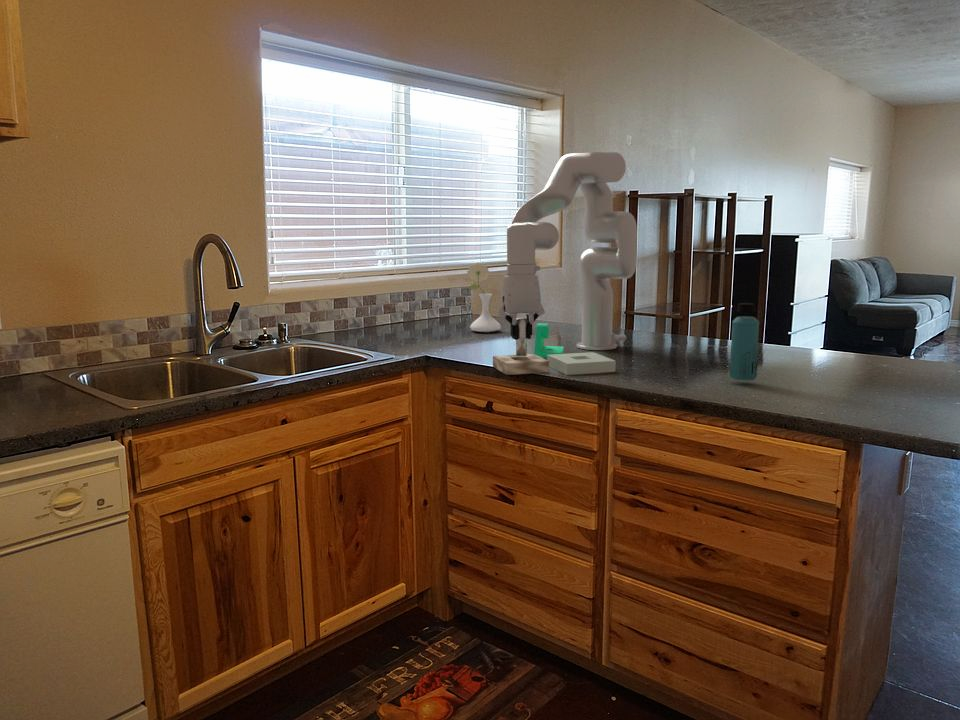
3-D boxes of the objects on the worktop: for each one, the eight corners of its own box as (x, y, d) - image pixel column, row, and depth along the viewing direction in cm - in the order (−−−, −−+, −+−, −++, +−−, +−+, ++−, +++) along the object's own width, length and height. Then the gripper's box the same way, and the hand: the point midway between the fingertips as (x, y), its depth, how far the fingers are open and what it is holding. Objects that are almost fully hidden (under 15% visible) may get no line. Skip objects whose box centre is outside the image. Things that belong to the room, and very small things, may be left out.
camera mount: (560, 362, 215) (561, 326, 213) (534, 361, 216) (534, 326, 214) (564, 354, 226) (564, 321, 225) (539, 354, 228) (539, 320, 226)
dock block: (592, 362, 213) (593, 352, 212) (615, 371, 200) (615, 360, 199) (547, 365, 209) (547, 354, 209) (566, 375, 196) (567, 363, 195)
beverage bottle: (753, 387, 180) (758, 305, 176) (725, 384, 184) (729, 303, 180) (759, 382, 186) (764, 302, 182) (731, 379, 189) (736, 301, 185)
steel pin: (524, 353, 205) (524, 317, 203) (528, 355, 202) (528, 319, 200) (514, 354, 204) (514, 318, 202) (518, 356, 202) (517, 319, 200)
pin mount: (533, 364, 211) (533, 353, 211) (549, 372, 200) (549, 361, 199) (492, 366, 208) (492, 355, 207) (506, 374, 196) (506, 363, 196)
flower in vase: (505, 330, 276) (506, 262, 272) (493, 334, 266) (493, 264, 261) (473, 328, 282) (473, 261, 277) (460, 332, 271) (460, 263, 267)
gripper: (544, 268, 205) (544, 334, 208) (487, 270, 200) (488, 338, 204) (555, 270, 198) (554, 339, 201) (496, 272, 193) (497, 342, 197)
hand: (521, 337), depth 203 cm, fingers closed on steel pin, 3 cm apart
